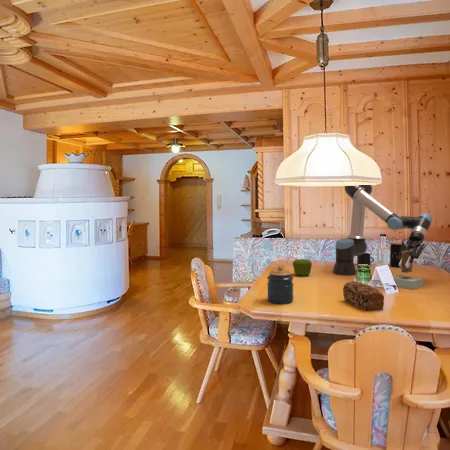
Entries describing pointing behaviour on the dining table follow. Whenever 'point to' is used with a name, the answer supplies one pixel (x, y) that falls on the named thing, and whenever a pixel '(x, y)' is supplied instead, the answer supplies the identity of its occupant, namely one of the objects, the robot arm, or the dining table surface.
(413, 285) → the end cap
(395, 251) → the coffee jar
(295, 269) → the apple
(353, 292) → the bread
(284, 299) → the canister
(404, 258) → the slat
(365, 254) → the mug
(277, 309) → the dining table surface
